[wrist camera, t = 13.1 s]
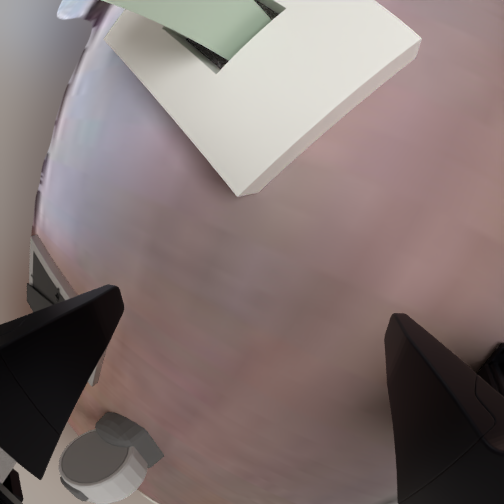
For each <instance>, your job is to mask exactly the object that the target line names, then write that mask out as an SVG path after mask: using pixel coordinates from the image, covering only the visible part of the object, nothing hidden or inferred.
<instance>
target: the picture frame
mask: <svg viewBox="0 0 504 504" xmlns="http://www.w3.org/2000/svg"><path fill="white" fill-rule="evenodd" d="M30 241H31V242H30V263H29V265H30V267H29V284H28V283H27V302H28V303H29V305H30V307H31V309H32V310H33V312H36V311H38V310H41V309H44V308H46V307H49V306H51V305H54V304H57V303H59V302H62V301H65V300H67V299H70V298H73V297H75V296H78V295H77V294H76V292H75V291H74V289H73V288H72V287H71V285H70V284H69V282H68V281H67V280H66V278H65V277H64V275H63V274H62V272H61V271H60V269H59V268H58V266H57V265H56V263H55V262H54V260H53V259H52V257H51V256H50V254H49V253H48V251H47V249H46V248H45V246H44V245H43V243H42V241H41V240H40V238H39V236H38V234H37V235H34V236H31V239H30ZM106 350H107V348H106ZM106 350H105V351H104V353H103V355H102V357H101V358H100V360H99V362H98V364H97V365H96V367H95V369H94V371H93V373H92V375H91V376H90V378H89V380H88V383H89V384H90V385H91V386H94V385H95V384H97V383H98V379H99V375H100V371H101V368H102V364H103V360H104V357H105V353H106Z"/></svg>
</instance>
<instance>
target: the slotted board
mask: <svg viewBox="0 0 504 504" xmlns="http://www.w3.org/2000/svg"><path fill="white" fill-rule="evenodd" d="M257 1H258V2H260V3H262V4H263V5H265V6H267V7H268V8H270V9H271V10H273V11H275V12H276V13H278V14H279V15H278V16H277V17H275V18H274V19H273V20H272V21H271V22H270V23H268V24H267V25H266V26H265V27H264V28H263V29H262V30H261V31H259V32H258V33H257V34H256V35H255V36H254V37H253V38H252V39H251V40H250V41H249V42H248V43H247V44H246V45H245V46H243V47H242V48H241V49H240V50H239V51H238V52H237V53H236V54H235V55H234V56H233V57H232V58H231V59H230V60H229V61H228V62H227V64H226V65H225V66H224V67H223V68H222V69H220V68H218V67H217V66H216V65H215V64H214V63H213V62H212V61H210V60H209V59H208V58H207V57H206V56H205V55H203V54H202V53H201V52H200V51H199V50H198V49H196V48H195V47H194V46H193V45H192V44H190V43H189V42H188V41H187V40H186V39H187V38H188V37H186V36H184V35H182V34H180V33H178V32H176V31H174V30H172V29H170V28H168V27H166V26H164V25H162V24H159V23H157V22H155V21H153V20H151V19H148V18H146V17H144V16H141V15H139V14H137V13H134V12H132V11H129V10H127V9H125V10H124V12H123V13H122V14H121V15H120V17H119V18H118V19H117V21H116V22H115V24H114V25H113V26H112V28H111V29H110V31H109V32H108V33H107V35H106V36H105V38H104V40H105V41H106V43H107V44H108V45H109V46H110V47H111V48H112V49H113V50H114V51H115V53H116V54H117V55H118V56H119V57H120V58H121V59H122V61H123V62H124V63H125V64H126V65H127V66H128V67H129V68H130V70H131V71H132V72H133V73H134V74H135V75H136V76H137V78H138V79H139V80H140V81H141V82H142V83H143V85H144V86H145V87H146V88H147V89H148V90H149V91H150V93H151V94H152V95H153V96H154V97H155V98H156V100H157V101H158V102H159V103H160V104H161V105H162V107H163V108H164V109H165V110H166V111H167V112H168V114H169V115H170V116H171V117H172V118H173V120H174V121H175V122H176V123H177V124H178V125H179V127H180V128H181V129H182V130H183V131H184V133H185V134H186V135H187V136H188V137H189V139H190V140H191V141H192V142H193V143H194V145H195V146H196V147H197V148H198V149H199V151H200V152H201V153H202V154H203V155H204V157H205V158H206V159H207V160H208V162H209V163H210V164H211V165H212V166H213V168H214V169H215V170H216V171H217V172H218V174H219V175H220V176H221V177H222V179H223V180H224V181H225V182H226V184H227V185H228V186H229V187H230V188H231V190H232V191H233V192H234V193H235V195H236V196H237V197H240V196H245V195H250V194H255V193H258V192H259V191H261V190H262V189H263V188H264V187H265V186H266V185H267V184H268V183H269V182H270V181H271V180H273V179H274V178H275V177H276V176H277V175H278V174H279V173H280V172H281V171H282V170H283V169H285V168H286V167H287V166H288V165H289V164H290V163H291V162H292V161H293V160H295V159H296V158H297V157H298V156H299V155H300V154H301V153H302V152H304V151H305V150H306V149H307V148H308V147H309V146H310V145H311V144H313V143H314V142H315V141H316V140H317V139H318V138H319V137H321V136H322V135H323V134H324V133H325V132H326V131H328V130H329V129H330V128H331V127H332V126H333V125H335V124H336V123H337V122H338V121H339V120H340V119H342V118H343V117H344V116H345V115H346V114H347V113H349V112H350V111H351V110H352V109H353V108H355V107H356V106H357V105H358V104H359V103H361V102H362V101H363V100H364V99H365V98H367V97H368V96H369V95H370V94H371V93H373V92H374V91H375V90H376V89H378V88H379V87H380V86H381V85H382V84H384V83H385V82H386V81H387V80H389V79H390V78H391V77H392V76H394V75H395V74H396V73H397V72H399V71H400V70H401V69H402V68H404V67H405V66H406V65H408V64H409V63H410V62H411V61H413V60H414V59H415V58H416V56H417V52H418V49H419V46H420V42H421V39H422V38H421V37H419V36H418V35H417V34H416V33H415V32H414V31H413V30H412V29H410V28H409V27H408V26H407V25H406V24H404V23H403V22H402V21H401V20H400V19H398V18H397V17H396V16H395V15H393V14H392V13H391V12H389V11H388V10H387V9H385V8H384V7H383V6H381V5H380V4H379V3H377V2H376V1H374V0H257Z"/></svg>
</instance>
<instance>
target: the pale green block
mask: <svg viewBox="0 0 504 504" xmlns="http://www.w3.org/2000/svg"><path fill="white" fill-rule="evenodd" d="M102 1H105V2H108V3H110V4H113V5H116V6H119V7H121V8H124V9H127V10H129V11H132V12H134V13H137V14H139V15H141V16H144V17H146V18H148V19H151V20H153V21H155V22H157V23H159V24H162V25H164V26H166V27H168V28H170V29H172V30H174V31H176V32H178V33H180V34H182V35H184V36H186V37H188V38H190V39H192V40H193V41H195V42H197V43H199V44H201V45H203V46H204V47H206V48H208V49H210V50H211V51H213V52H215V53H217V54H218V55H220V56H222V57H223V58H225V59H227V60H228V61H229V60H230V59H231V58H232V57H233V56H234V55H235V54H236V53H237V52H238V51H239V50H240V49H241V48H242V47H243V46H245V45H246V44H247V43H248V42H249V41H250V40H251V39H252V38H253V37H254V36H255V35H256V34H257V33H258V32H259V31H261V30H262V29H263V28H264V27H265V26H266V25H267V24H268V23H270V22H271V21H272V20H271V19H270V18H269V17H268V15H267V14H266V13H265V12H264V11H263V10H262V9H261V8H260V6H259V5H258V4H257V3H256V2H255V1H254V0H102Z"/></svg>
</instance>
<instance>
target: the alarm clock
mask: <svg viewBox="0 0 504 504" xmlns="http://www.w3.org/2000/svg"><path fill="white" fill-rule="evenodd" d="M95 428H96V429H94V430H90V431H88V432H86V433H84V434H82V435H80V436H78V437H77V438H75V439H74V440H73V441H72V442H71V443H70V444H69V445H67V447H66V448H65V450H64V451H63V452H62V455H61V457H60V460H59V472H60V475H61V477H60V479H61V482H62V484H63V485H64V486H65V487H66V488H67V489H68V490H69V491H70V492H71V493H72V494H73V495H74V496H75V497H76V498H78V499H80V500H82V501H89V502H93V503H97V504H108V503H113V502H117V501H120V500H122V499H124V498H126V497H128V496H129V495H130V494H132V493H133V492H134V491H135V490H136V489H137V488H138V487H139V486H140V484H141V483H142V482H143V480H144V478H145V475H146V473H147V468H150V467H152V466H153V465H154V464H155V463H157V462H158V461H159V460H160V459H161V458H162V457H164V454H163V453H162V452H161V450H160V449H159V447H158V446H157V445H156V443H155V442H154V441H153V439H152V438H151V436H150V435H149V433H148V432H147V431H146V430H145V429H144V428H143V427H141V426H139V425H138V424H136V423H135V422H133V421H131V420H129V419H128V418H126V417H124V416H122V415H119V414H116V413H113V412H107V413H106V414H105V415H104V416H103V417H102V418H101V419H100V420H99V421H98V422H97V423H96V426H95Z"/></svg>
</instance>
